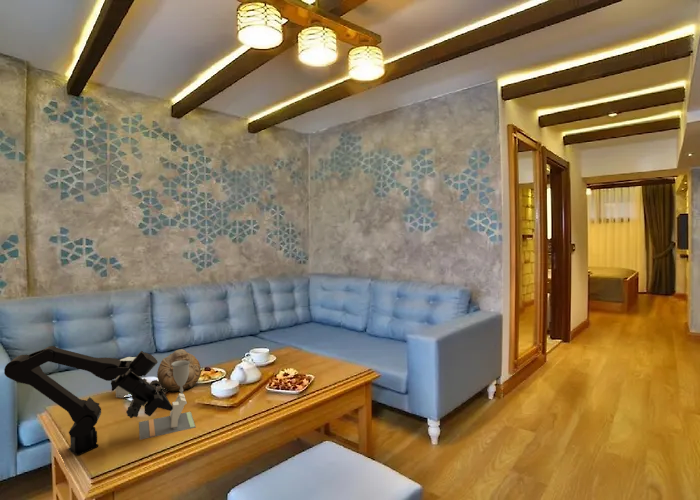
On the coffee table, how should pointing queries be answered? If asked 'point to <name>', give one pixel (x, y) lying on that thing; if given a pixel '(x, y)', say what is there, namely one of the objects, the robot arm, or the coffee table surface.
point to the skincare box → (119, 391)
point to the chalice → (181, 373)
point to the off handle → (174, 414)
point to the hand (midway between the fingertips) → (171, 409)
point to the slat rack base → (167, 422)
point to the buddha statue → (167, 371)
